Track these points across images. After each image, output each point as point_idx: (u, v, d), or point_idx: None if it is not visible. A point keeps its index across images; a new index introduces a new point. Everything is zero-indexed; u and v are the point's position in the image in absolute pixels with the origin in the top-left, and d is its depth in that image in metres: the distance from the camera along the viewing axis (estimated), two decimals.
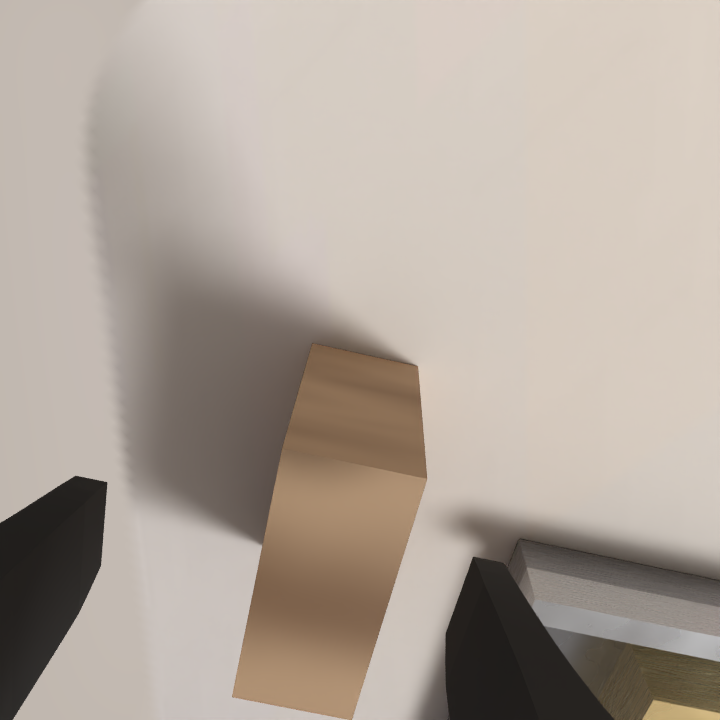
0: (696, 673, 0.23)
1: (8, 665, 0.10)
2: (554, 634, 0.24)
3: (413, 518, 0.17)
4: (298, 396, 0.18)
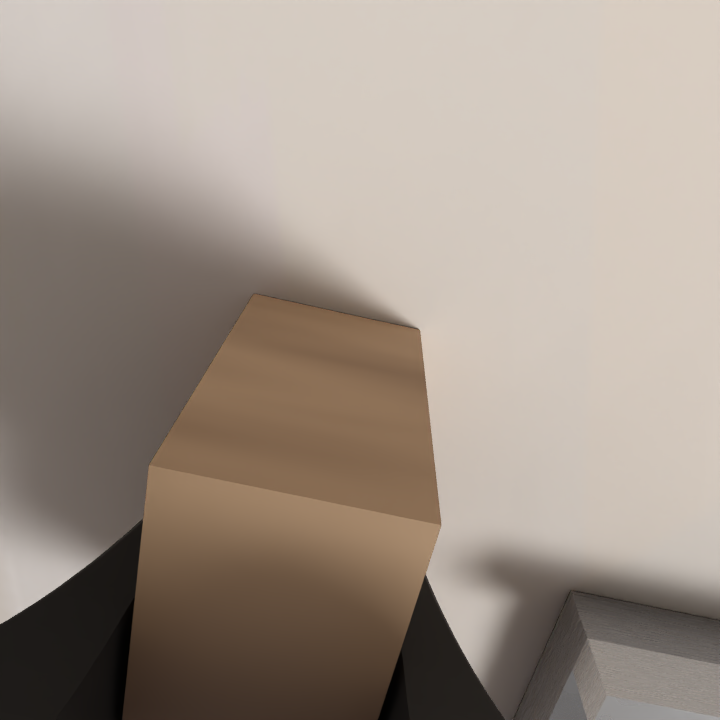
0: None
1: (124, 687, 0.10)
2: None
3: (415, 598, 0.09)
4: (209, 370, 0.10)
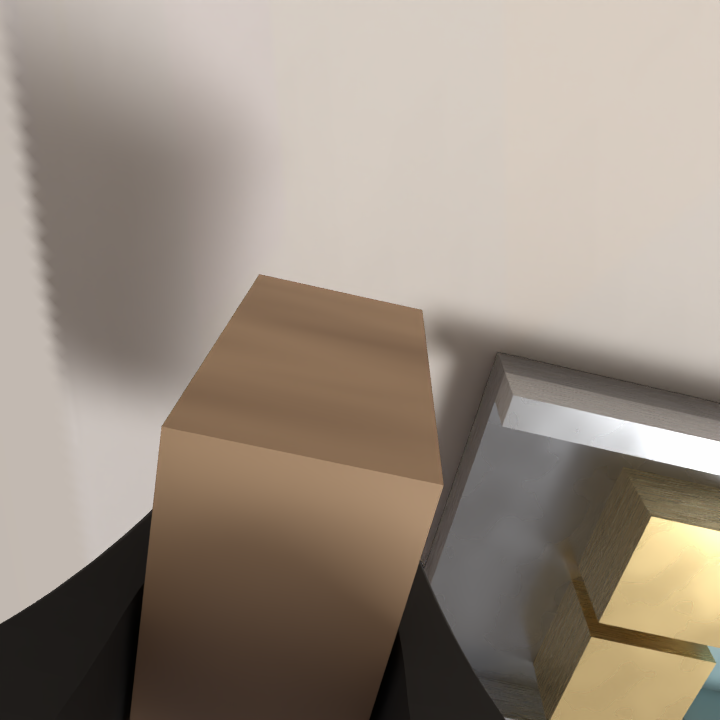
0: (701, 499, 0.20)
1: (124, 687, 0.10)
2: (537, 460, 0.21)
3: (418, 559, 0.09)
4: (217, 343, 0.11)
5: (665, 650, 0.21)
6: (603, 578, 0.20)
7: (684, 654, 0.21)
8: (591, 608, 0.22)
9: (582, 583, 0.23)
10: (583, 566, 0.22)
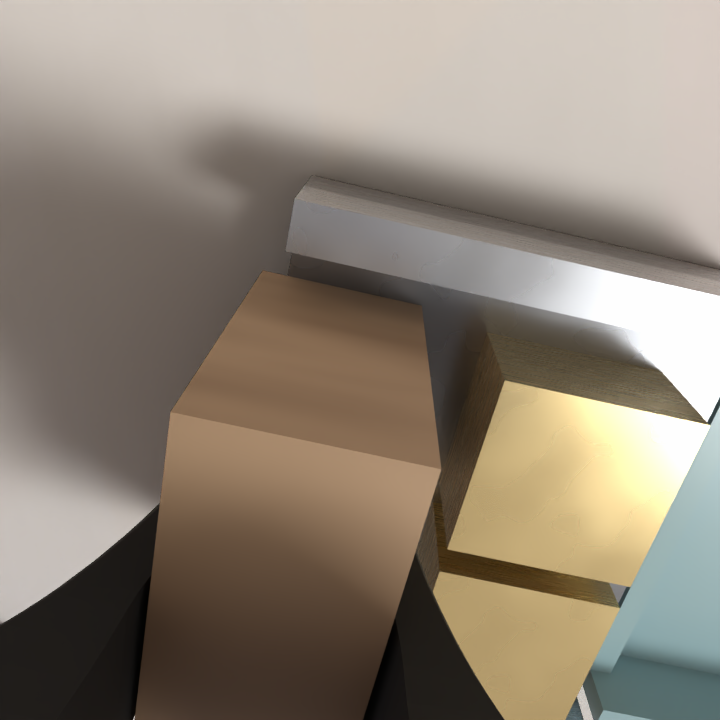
0: (591, 371, 0.14)
1: (125, 688, 0.10)
2: None
3: (417, 541, 0.09)
4: (223, 335, 0.11)
5: (547, 591, 0.14)
6: (457, 487, 0.14)
7: (575, 596, 0.14)
8: None
9: None
10: (443, 481, 0.16)
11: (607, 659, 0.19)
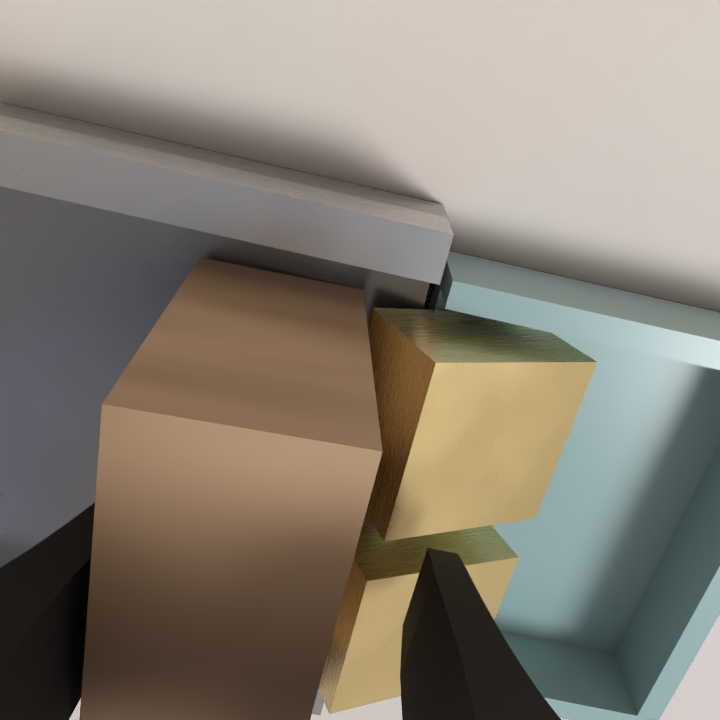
0: (482, 329, 0.14)
1: (61, 675, 0.10)
2: (49, 254, 0.14)
3: (361, 524, 0.09)
4: (158, 324, 0.11)
5: None
6: (378, 475, 0.14)
7: (482, 560, 0.15)
8: None
9: None
10: None
11: None
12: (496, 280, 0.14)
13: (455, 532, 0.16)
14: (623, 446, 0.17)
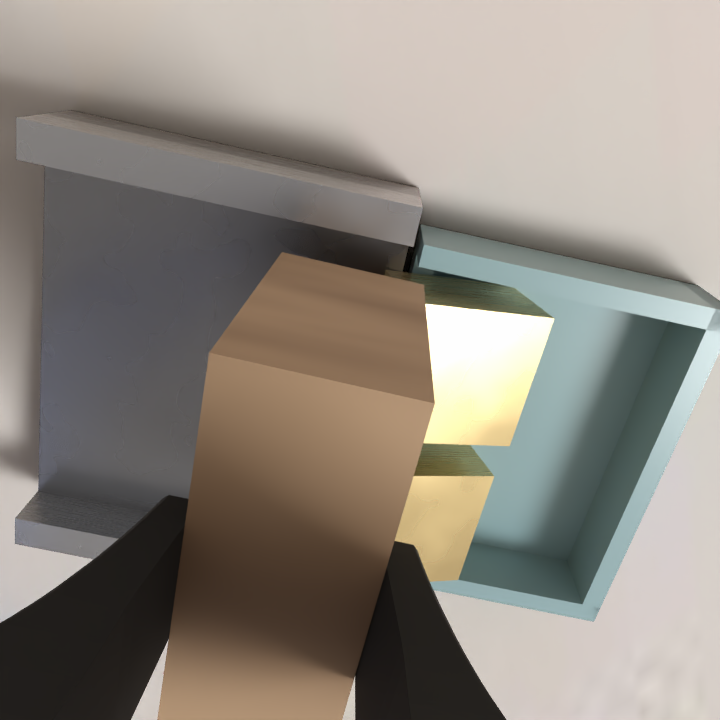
0: (467, 290, 0.18)
1: (124, 686, 0.10)
2: (112, 228, 0.19)
3: (414, 469, 0.11)
4: (249, 299, 0.13)
5: (444, 474, 0.19)
6: None
7: (463, 474, 0.20)
8: None
9: None
10: None
11: None
12: (459, 245, 0.18)
13: (445, 455, 0.20)
14: (567, 383, 0.21)
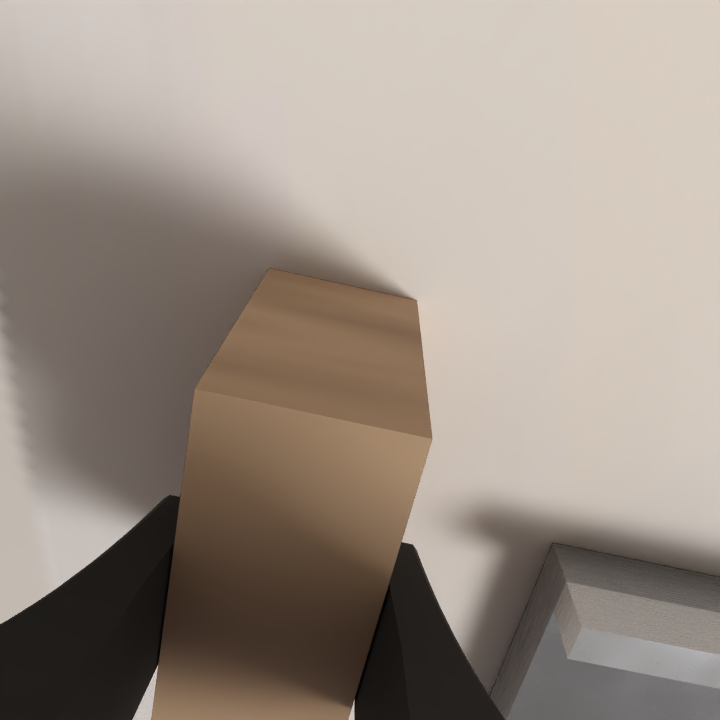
0: None
1: (124, 687, 0.10)
2: (601, 671, 0.18)
3: (411, 504, 0.10)
4: (236, 324, 0.12)
5: None
6: None
7: None
8: None
9: None
10: None
11: None
12: None
13: None
14: None
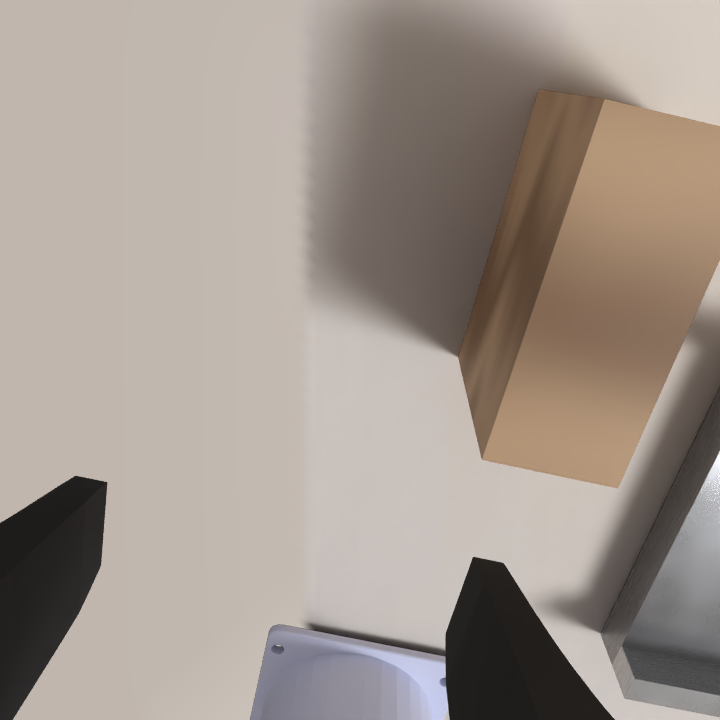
0: None
1: (7, 665, 0.10)
2: None
3: None
4: (572, 94, 0.16)
5: None
6: None
7: None
8: None
9: None
10: None
11: None
12: None
13: None
14: None
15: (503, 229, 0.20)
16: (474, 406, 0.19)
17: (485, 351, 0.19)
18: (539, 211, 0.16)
